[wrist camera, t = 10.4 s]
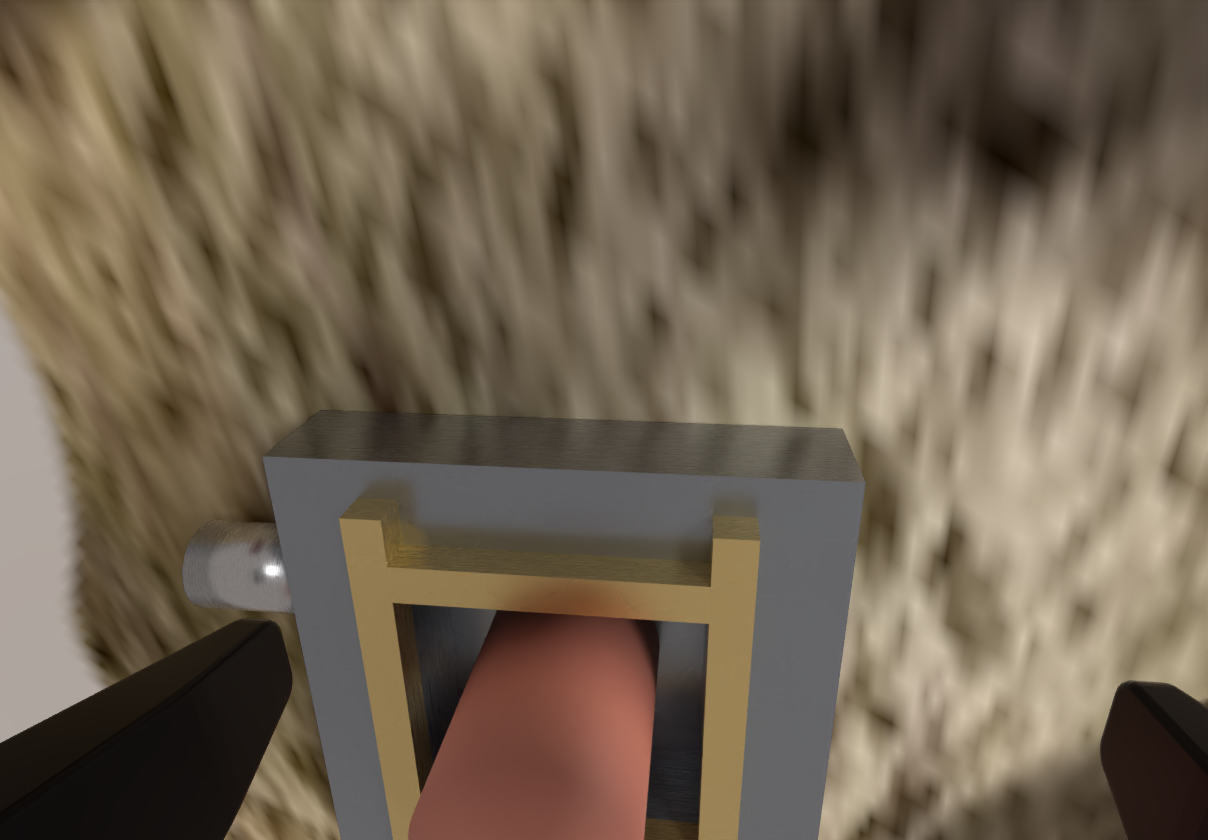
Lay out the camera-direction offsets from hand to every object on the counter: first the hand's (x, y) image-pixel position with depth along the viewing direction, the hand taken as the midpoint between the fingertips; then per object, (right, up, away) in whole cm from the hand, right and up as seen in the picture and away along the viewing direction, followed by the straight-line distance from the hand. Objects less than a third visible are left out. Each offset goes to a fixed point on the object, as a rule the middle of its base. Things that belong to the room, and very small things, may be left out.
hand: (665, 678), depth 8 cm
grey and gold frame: (-3, -4, +15) cm, 15 cm away
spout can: (-1, -4, +14) cm, 15 cm away
